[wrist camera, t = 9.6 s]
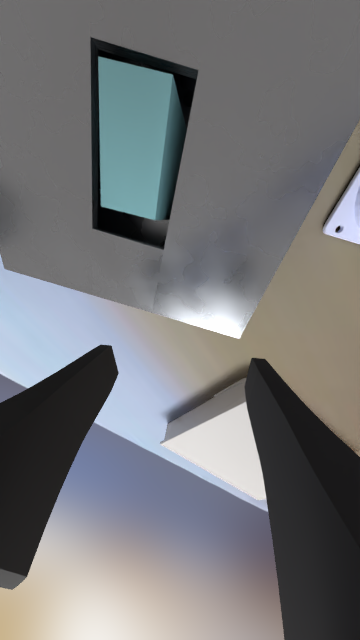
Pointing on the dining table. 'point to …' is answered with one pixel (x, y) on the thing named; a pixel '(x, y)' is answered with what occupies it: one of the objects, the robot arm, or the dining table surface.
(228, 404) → the book
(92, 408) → the robot arm
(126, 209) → the teal rectangular block
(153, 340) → the dining table surface
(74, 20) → the box
